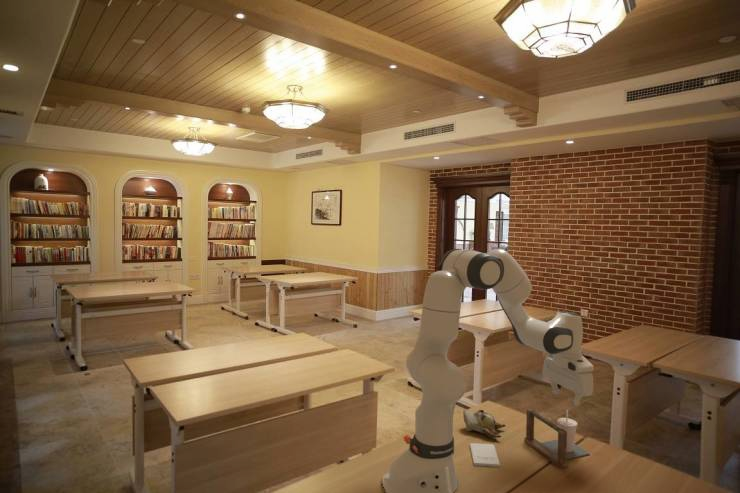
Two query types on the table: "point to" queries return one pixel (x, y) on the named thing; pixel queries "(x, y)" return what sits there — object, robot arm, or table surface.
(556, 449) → the mat
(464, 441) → the table surface
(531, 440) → the bar hurdle
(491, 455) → the external hard drive
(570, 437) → the smoothie
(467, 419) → the ceramic sculpture
